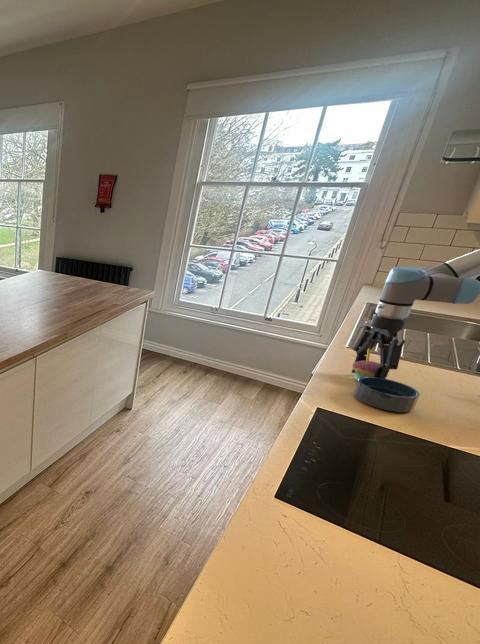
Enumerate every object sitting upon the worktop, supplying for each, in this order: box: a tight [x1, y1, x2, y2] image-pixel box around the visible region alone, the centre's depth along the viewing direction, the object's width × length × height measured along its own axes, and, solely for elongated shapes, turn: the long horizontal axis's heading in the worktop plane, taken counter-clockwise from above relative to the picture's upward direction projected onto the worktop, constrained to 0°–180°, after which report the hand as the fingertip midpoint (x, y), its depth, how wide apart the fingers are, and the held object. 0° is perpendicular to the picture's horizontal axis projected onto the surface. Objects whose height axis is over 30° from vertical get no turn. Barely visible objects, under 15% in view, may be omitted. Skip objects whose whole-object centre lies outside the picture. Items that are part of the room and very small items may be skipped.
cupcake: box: [352, 348, 380, 382], centre depth 134 cm, size 9×8×12 cm
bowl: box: [353, 377, 421, 413], centre depth 122 cm, size 13×13×6 cm
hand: (366, 378), depth 135 cm, fingers closed on cupcake, 8 cm apart
